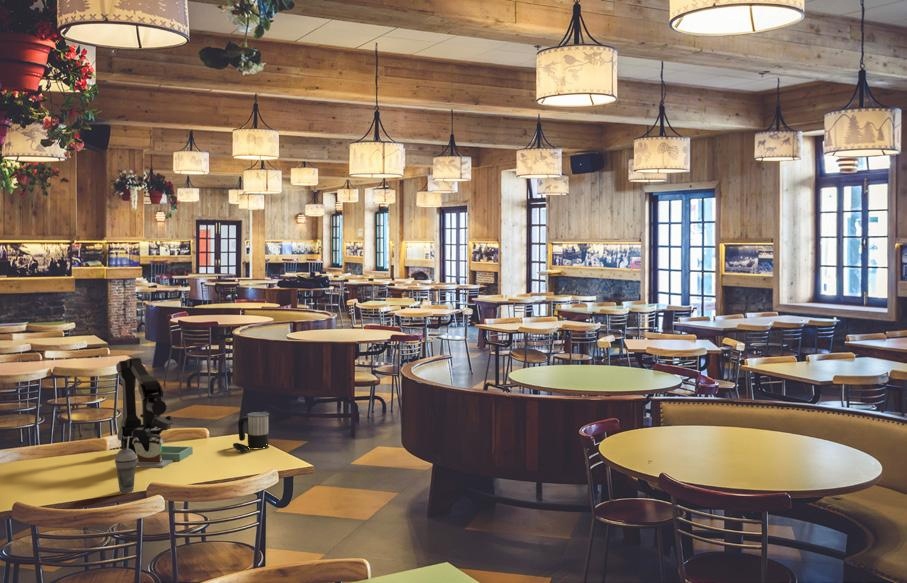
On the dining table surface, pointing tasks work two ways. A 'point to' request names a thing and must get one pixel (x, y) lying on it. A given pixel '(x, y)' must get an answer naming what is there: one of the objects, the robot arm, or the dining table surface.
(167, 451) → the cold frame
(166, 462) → the slate tile
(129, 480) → the beverage cup
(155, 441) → the food container
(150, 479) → the dining table surface
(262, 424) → the milk frother
